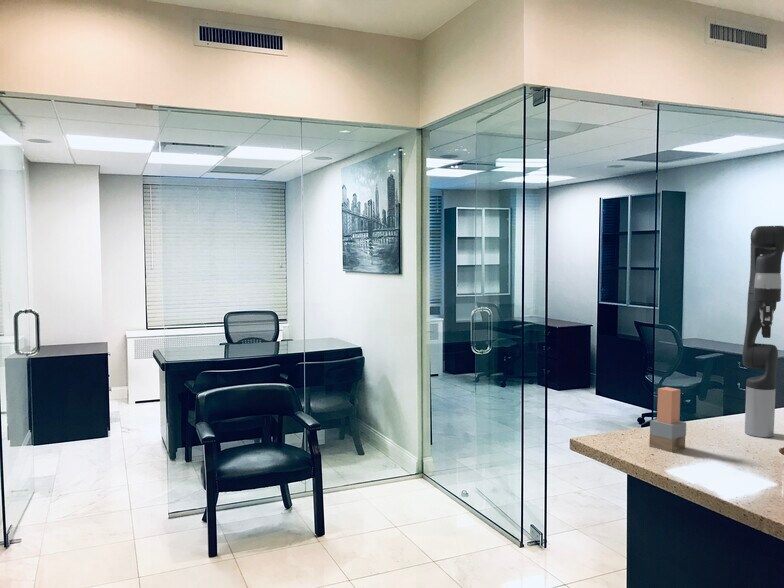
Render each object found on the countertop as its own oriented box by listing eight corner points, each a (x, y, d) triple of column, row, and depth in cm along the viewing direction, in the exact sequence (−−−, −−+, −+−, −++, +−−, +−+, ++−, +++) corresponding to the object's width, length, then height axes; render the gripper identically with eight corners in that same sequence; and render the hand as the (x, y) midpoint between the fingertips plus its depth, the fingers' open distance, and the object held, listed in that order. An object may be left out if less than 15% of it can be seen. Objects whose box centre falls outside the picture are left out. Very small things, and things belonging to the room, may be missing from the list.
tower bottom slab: (662, 443, 216) (663, 430, 216) (684, 449, 209) (685, 435, 209) (649, 447, 211) (649, 433, 211) (671, 452, 205) (672, 439, 205)
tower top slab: (663, 430, 216) (664, 417, 215) (685, 435, 209) (686, 422, 209) (649, 433, 211) (650, 420, 211) (671, 439, 205) (672, 425, 204)
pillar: (665, 419, 213) (666, 387, 213) (679, 422, 209) (680, 389, 209) (657, 421, 210) (657, 388, 210) (670, 424, 206) (671, 391, 206)
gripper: (753, 286, 213) (752, 333, 213) (755, 287, 200) (753, 337, 201) (779, 286, 209) (777, 335, 210) (782, 287, 197) (780, 339, 197)
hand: (765, 336), depth 205 cm, fingers open, 8 cm apart
